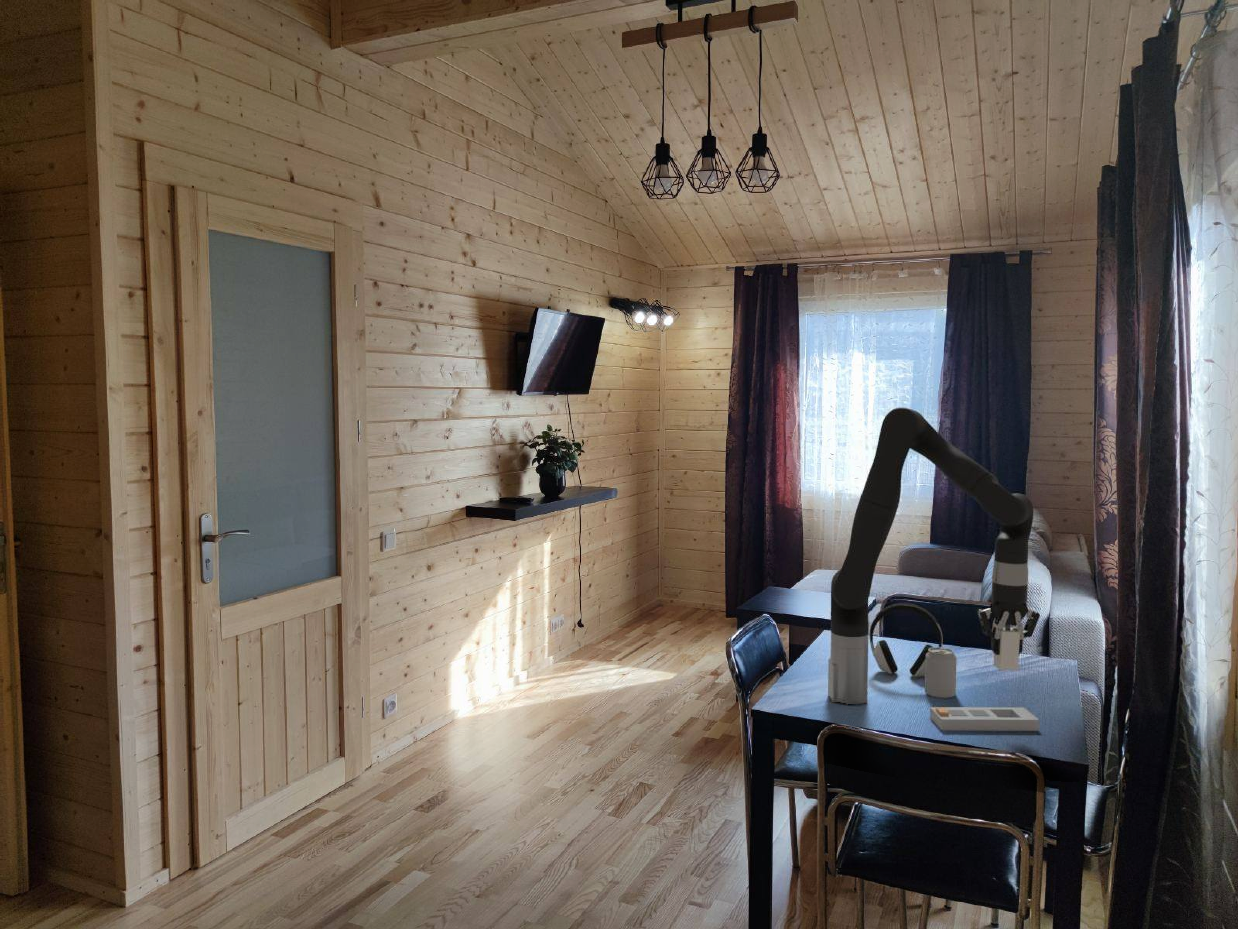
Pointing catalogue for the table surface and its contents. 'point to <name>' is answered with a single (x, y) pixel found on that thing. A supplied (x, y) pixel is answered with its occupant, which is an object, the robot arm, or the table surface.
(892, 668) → the headphones
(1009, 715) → the power strip
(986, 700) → the table surface
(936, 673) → the can
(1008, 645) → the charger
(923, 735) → the table surface
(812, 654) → the table surface
